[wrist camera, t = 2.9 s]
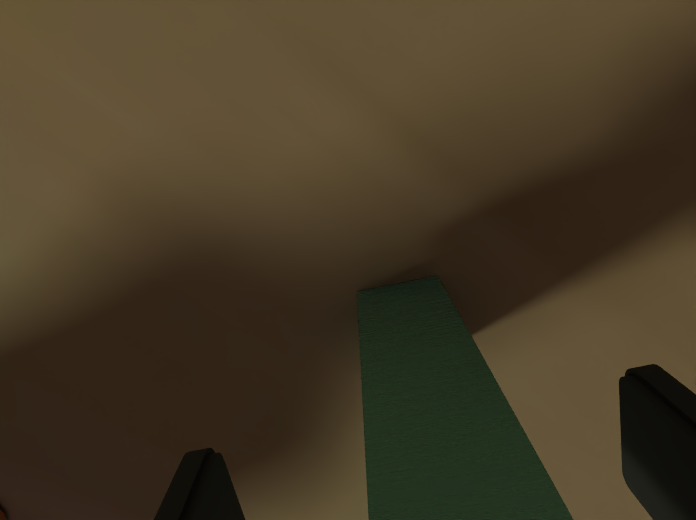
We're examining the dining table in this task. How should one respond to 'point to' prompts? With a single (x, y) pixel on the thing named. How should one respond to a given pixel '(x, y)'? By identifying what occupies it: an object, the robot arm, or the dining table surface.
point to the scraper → (440, 417)
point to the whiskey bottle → (2, 515)
